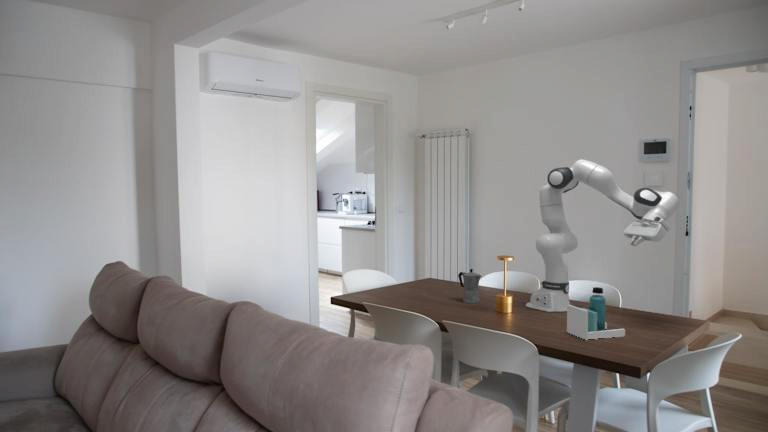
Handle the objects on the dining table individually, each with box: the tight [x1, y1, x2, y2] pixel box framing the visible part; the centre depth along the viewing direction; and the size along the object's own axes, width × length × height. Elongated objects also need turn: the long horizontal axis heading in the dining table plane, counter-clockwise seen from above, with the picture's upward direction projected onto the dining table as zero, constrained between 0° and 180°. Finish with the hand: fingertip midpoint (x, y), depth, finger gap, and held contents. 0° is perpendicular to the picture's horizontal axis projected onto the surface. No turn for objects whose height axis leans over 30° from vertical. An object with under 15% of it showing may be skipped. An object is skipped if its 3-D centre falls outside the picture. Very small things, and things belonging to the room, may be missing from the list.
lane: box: [566, 304, 626, 341], centre depth 222 cm, size 19×12×12 cm, turn 105°
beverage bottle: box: [588, 287, 607, 331], centre depth 222 cm, size 6×7×20 cm
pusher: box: [580, 307, 597, 332], centre depth 222 cm, size 2×9×10 cm, turn 15°
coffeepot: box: [457, 268, 482, 304], centre depth 289 cm, size 15×9×18 cm, turn 44°
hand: (633, 245), depth 234 cm, fingers closed
